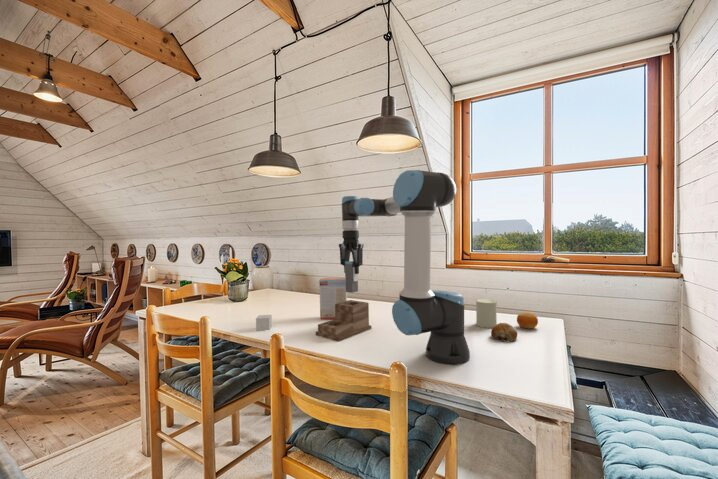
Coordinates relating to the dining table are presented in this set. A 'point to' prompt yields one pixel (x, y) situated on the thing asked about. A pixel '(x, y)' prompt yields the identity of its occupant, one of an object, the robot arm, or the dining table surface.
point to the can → (486, 313)
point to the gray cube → (263, 322)
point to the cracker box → (331, 296)
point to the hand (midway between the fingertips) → (351, 280)
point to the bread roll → (504, 332)
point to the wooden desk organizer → (346, 321)
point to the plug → (350, 278)
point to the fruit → (527, 320)
